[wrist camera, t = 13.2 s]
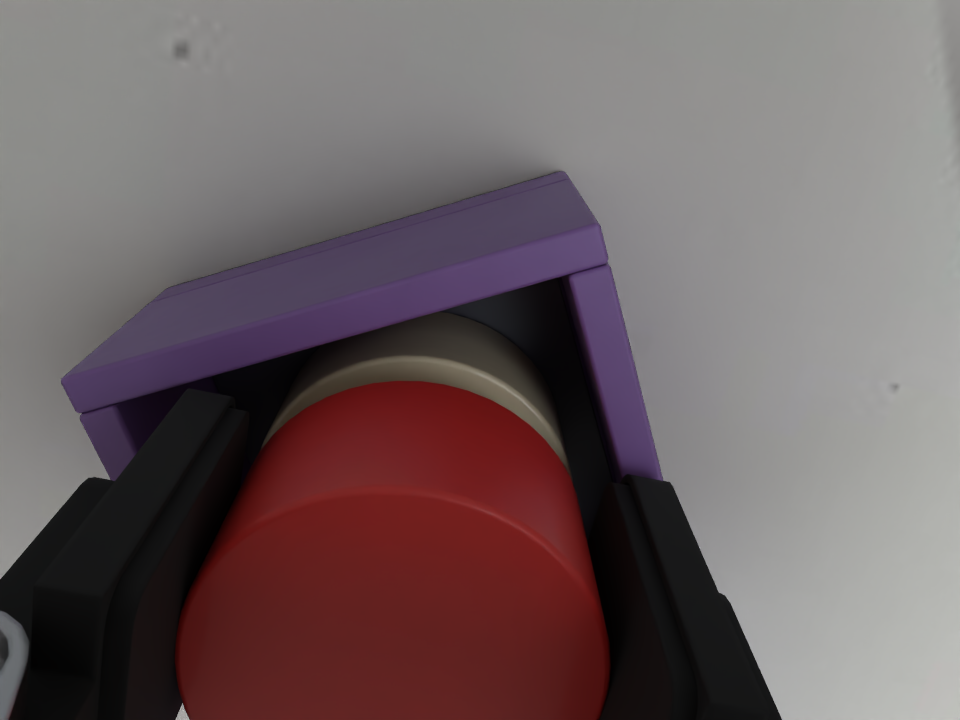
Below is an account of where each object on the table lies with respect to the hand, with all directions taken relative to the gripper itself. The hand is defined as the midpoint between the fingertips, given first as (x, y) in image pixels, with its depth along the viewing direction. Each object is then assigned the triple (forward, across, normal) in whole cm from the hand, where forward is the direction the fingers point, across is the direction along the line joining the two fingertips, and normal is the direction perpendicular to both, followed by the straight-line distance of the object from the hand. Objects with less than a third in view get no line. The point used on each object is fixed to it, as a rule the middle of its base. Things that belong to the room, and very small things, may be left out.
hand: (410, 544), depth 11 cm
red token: (0, 0, 0) cm, 0 cm away
